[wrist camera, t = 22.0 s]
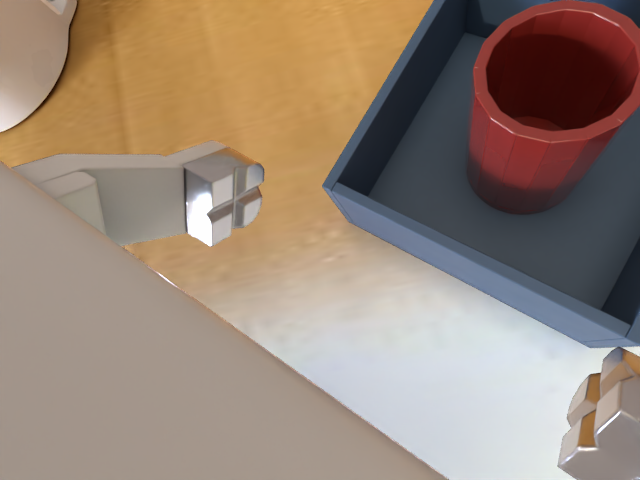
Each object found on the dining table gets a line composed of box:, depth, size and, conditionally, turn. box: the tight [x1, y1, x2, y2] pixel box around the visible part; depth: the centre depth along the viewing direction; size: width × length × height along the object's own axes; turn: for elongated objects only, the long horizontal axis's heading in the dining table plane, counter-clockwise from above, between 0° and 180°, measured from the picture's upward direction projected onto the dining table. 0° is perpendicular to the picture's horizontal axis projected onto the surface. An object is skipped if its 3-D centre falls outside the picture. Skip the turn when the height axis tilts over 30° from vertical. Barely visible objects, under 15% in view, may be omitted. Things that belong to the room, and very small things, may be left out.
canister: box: [465, 0, 640, 215], centre depth 21 cm, size 6×6×9 cm
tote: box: [322, 0, 640, 348], centre depth 23 cm, size 15×15×6 cm
